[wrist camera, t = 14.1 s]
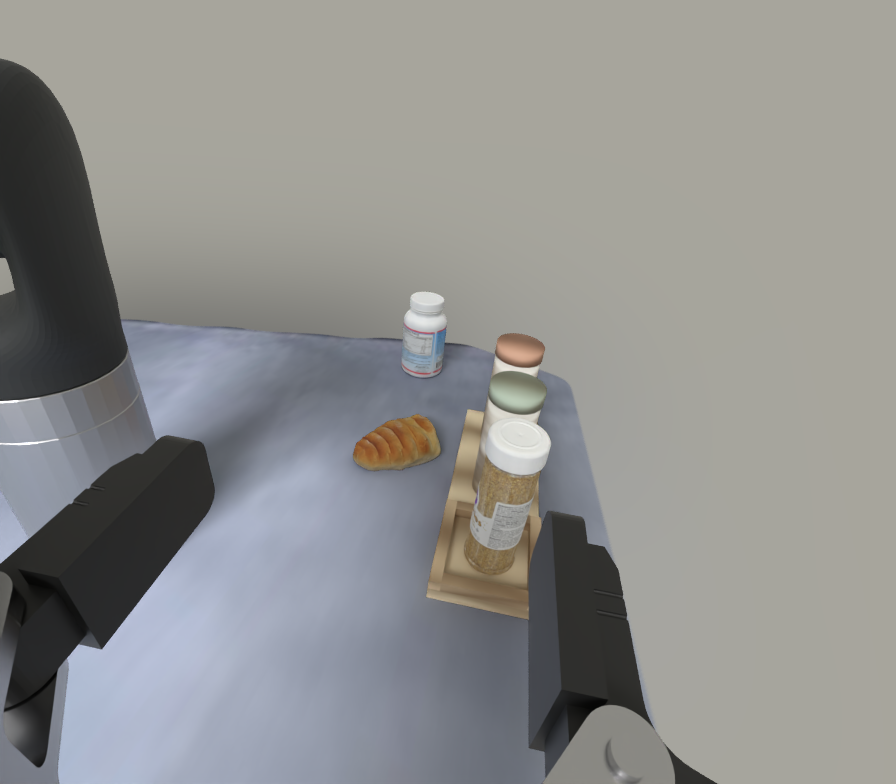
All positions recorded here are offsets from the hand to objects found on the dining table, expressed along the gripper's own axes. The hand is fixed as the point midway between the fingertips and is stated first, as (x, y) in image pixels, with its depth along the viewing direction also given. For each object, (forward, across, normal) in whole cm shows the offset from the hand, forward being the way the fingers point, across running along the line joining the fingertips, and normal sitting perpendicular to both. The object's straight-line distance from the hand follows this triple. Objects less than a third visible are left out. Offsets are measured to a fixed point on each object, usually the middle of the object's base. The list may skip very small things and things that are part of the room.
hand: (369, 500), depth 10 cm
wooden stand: (+27, -6, +26) cm, 38 cm away
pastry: (+31, +5, +27) cm, 42 cm away
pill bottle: (+50, +7, +27) cm, 58 cm away
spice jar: (+18, -6, +25) cm, 32 cm away
